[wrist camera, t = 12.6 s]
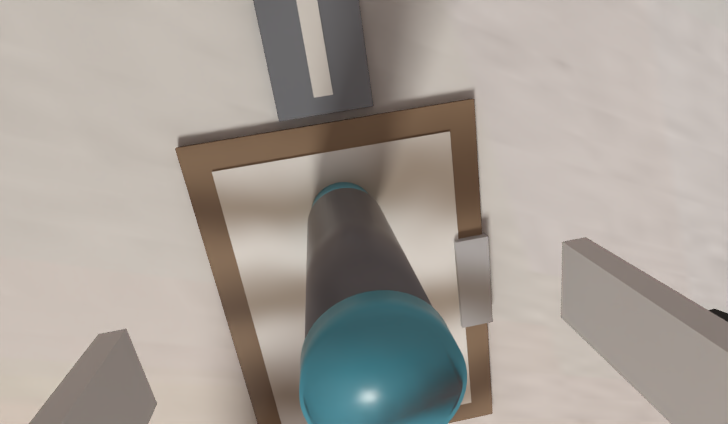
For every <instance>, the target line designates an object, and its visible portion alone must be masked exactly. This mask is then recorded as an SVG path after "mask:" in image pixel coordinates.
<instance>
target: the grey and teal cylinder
mask: <svg viewBox="0 0 728 424" xmlns="http://www.w3.org/2000/svg"><path fill="white" fill-rule="evenodd" d="M466 385H467V368H466V363H465V360H464V357H463V354H462V352H461V351H460V349H459V347H458V345H457V343H456V341H455V339H454V338H453V336H452V334H451V332H450V330H449V328H448V327H447V325H446V323H445V321H444V319H443V318H442V317H441V315H440V314H439V313H438V312H437V311H436V310H435V309H434V308H433V306H432V304H431V302H430V301H429V299H428V297H427V295H426V293H425V291H424V289H423V287H422V285H421V284H420V282H419V280H418V278H417V276H416V274H415V272H414V270H413V268H412V267H411V265H410V263H409V261H408V259H407V257H406V255H405V253H404V251H403V250H402V248H401V246H400V244H399V242H398V240H397V238H396V236H395V234H394V232H393V231H392V229H391V227H390V225H389V223H388V221H387V219H386V217H385V215H384V214H383V212H382V210H381V208H380V206H379V204H378V203H377V202H376V200H375V199H374V198H373V197H371V196H370V195H369V194H368V193H367V192H366V190H364V189H363V188H362V187H360V186H358V185H356V184H353V183H349V182H338V183H334V184H331V185H329V186H327V187H325V188H324V189H323V190H322V191H321V192H319V194H318V195H317V196H316V198H315V200H314V202H313V205H312V209H311V211H310V213H309V216H308V222H307V263H306V305H305V340H304V343H303V346H302V351H301V357H300V384H299V400H300V406H301V410H302V412H303V415H304V417H305V419H306V421H307V423H308V424H448V423H449V421H450V420H451V419H452V418H453V416H454V415H455V413H456V412H457V410H458V409H459V407H460V405H461V402H462V400H463V398H464V394H465V391H466Z"/></svg>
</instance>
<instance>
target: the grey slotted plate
mask: <svg viewBox="0 0 728 424" xmlns="http://www.w3.org/2000/svg"><path fill="white" fill-rule="evenodd" d="M253 1H254V6H255V10H256V15H257V20H258V25H259V29H260V34H261V39H262V43H263V48H264V53H265V57H266V62H267V67H268V72H269V76H270V81H271V86H272V90H273V95H274V100H275V104H276V109H277V114H278V118H279V121H285V120H291V119H297V118H303V117H309V116H316V115H322V114H328V113H334V112H340V111H346V110H352V109H358V108H364V107H370V106H373V101H372V94H371V86H370V79H369V72H368V64H367V57H366V50H365V43H364V35H363V28H362V21H361V14H360V6H359V0H253Z"/></svg>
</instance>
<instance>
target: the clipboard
mask: <svg viewBox="0 0 728 424" xmlns="http://www.w3.org/2000/svg"><path fill="white" fill-rule="evenodd" d="M175 150H176V153H177V156H178V160H179V163H180V166H181V170H182V173H183V176H184V180H185V183H186V186H187V190H188V193H189V196H190V199H191V203H192V206H193V209H194V213H195V216H196V219H197V223H198V226H199V229H200V233H201V236H202V239H203V243H204V246H205V249H206V253H207V256H208V259H209V263H210V266H211V269H212V273H213V276H214V279H215V283H216V286H217V289H218V292H219V296H220V299H221V302H222V306H223V309H224V312H225V316H226V319H227V322H228V326H229V329H230V332H231V336H232V339H233V342H234V346H235V349H236V352H237V356H238V359H239V362H240V366H241V369H242V372H243V376H244V379H245V382H246V386H247V389H248V392H249V395H250V399H251V402H252V405H253V409H254V412H255V415H256V419H257V422H258V424H308V423H307V421H306V419H305V417H304V415H303V412H302V410H301V406H300V400H299V384H300V357H301V351H302V346H303V343H304V340H305V305H306V263H307V222H308V216H309V213H310V211H311V209H312V205H313V202H314V200H315V198H316V196H317V195H318V194H319V192H321V191H322V190H323V189H324V188H325V187H327V186H329V185H331V184H334V183H338V182H349V183H353V184H356V185H358V186H360V187H362V188H363V189H364V190H366V192H367V193H368V194H369V195H370V196H371V197H373V198H374V199H375V200H376V202H377V203H378V204H379V206H380V208H381V210H382V212H383V214H384V215H385V217H386V219H387V221H388V223H389V225H390V227H391V229H392V231H393V232H394V234H395V236H396V238H397V240H398V242H399V244H400V246H401V248H402V250H403V251H404V253H405V255H406V257H407V259H408V261H409V263H410V265H411V267H412V268H413V270H414V272H415V274H416V276H417V278H418V280H419V282H420V284H421V285H422V287H423V289H424V291H425V293H426V295H427V297H428V299H429V301H430V302H431V304H432V306H433V308H434V309H435V310H436V311H437V312H438V313H439V314H440V315H441V317H442V318H443V319H444V321H445V323H446V325H447V327H448V328H449V330H450V332H451V334H452V336H453V338H454V339H455V341H456V343H457V345H458V347H459V349H460V351H461V352H462V354H463V357H464V360H465V363H466V368H467V385H466V391H465V394H464V398H463V400H462V402H461V405H460V407H459V409H458V410H457V412H456V413H455V415H454V416H453V418H452V419H451V420H450V421H449V423H451V422H456V421H461V420H465V419H470V418H474V417H479V416H484V415H488V414H492V397H491V380H490V363H489V346H488V329H487V323H490V322H493V318H492V300H491V281H490V262H489V243H488V236H487V235H486V234H485V233H482V227H481V210H480V193H479V176H478V158H477V141H476V124H475V107H474V99H467V100H461V101H455V102H449V103H443V104H436V105H430V106H424V107H418V108H412V109H406V110H400V111H394V112H388V113H382V114H376V115H370V116H364V117H358V118H352V119H346V120H340V121H334V122H328V123H322V124H316V125H309V126H303V127H297V128H291V129H285V130H279V131H273V132H267V133H261V134H255V135H249V136H243V137H237V138H231V139H225V140H219V141H213V142H207V143H201V144H195V145H189V146H182V147H177V148H175Z"/></svg>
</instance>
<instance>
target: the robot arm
mask: <svg viewBox="0 0 728 424" xmlns="http://www.w3.org/2000/svg"><path fill="white" fill-rule="evenodd" d="M561 318H562V319H563V320H564V321H565V322H566V323H567V324H568V325H569V326H571V327H572V328H573V329H574V330H575V331H576V332H577V333H578V334H579V335H580V336H581V337H582V338H583V339H584V340H585V341H586V342H587V343H588V344H589V345H590V346H591V347H592V348H593V349H594V350H595V351H596V352H597V353H598V354H600V355H601V356H602V357H603V358H604V359H605V360H606V361H607V362H608V363H609V364H610V365H611V366H612V367H613V368H614V369H615V370H616V371H617V372H618V373H619V374H620V375H621V376H622V377H623V378H624V379H625V380H626V381H627V382H629V383H630V384H631V385H632V386H633V387H634V388H635V389H636V390H637V391H638V392H639V393H640V394H641V395H642V396H643V397H644V398H645V399H646V400H647V401H648V402H649V403H650V404H651V405H652V406H653V407H654V408H655V409H656V410H658V411H659V412H660V413H661V414H662V415H663V416H664V417H665V418H666V419H667V420H668V421H669V422H670V423H671V424H728V313H725V312H722V311H719V310H717V309H712V310H707V309H705V308H703V307H702V306H700V305H698V304H697V303H695V302H693V301H692V300H690V299H688V298H687V297H685V296H683V295H682V294H680V293H678V292H677V291H675V290H673V289H672V288H670V287H668V286H667V285H665V284H663V283H661V282H660V281H658V280H656V279H655V278H653V277H651V276H650V275H648V274H646V273H645V272H643V271H641V270H640V269H638V268H636V267H635V266H633V265H631V264H630V263H628V262H626V261H625V260H623V259H621V258H620V257H618V256H616V255H615V254H613V253H611V252H609V251H608V250H606V249H604V248H603V247H601V246H599V245H598V244H596V243H594V242H593V241H591V240H589V239H588V238H586V237H585V238H580V239H575V240H570V241H565V242H562V286H561ZM156 405H157V402H156V400H155V398H154V395H153V393H152V390H151V388H150V385H149V383H148V381H147V378H146V376H145V373H144V371H143V368H142V366H141V363H140V361H139V359H138V356H137V354H136V351H135V349H134V346H133V344H132V341H131V339H130V337H129V334H128V332H127V329H123V330H118V331H112V332H107V333H102V334H98V336H97V337H96V338H95V339H94V341H93V342H92V343H91V345H90V346H89V347H88V348H87V350H86V351H85V352H84V354H83V355H82V356H81V357H80V359H79V360H78V361H77V363H76V364H75V365H74V366H73V368H72V369H71V370H70V372H69V373H68V374H67V375H66V377H65V378H64V379H63V381H62V382H61V383H60V384H59V386H58V387H57V388H56V390H55V391H54V392H53V393H52V395H51V396H50V397H49V399H48V400H47V401H46V402H45V404H44V405H43V406H42V408H41V409H40V410H39V411H38V413H37V414H36V415H35V417H34V418H33V419H32V420H31V422H30V423H29V424H148V423H149V421H150V418H151V416H152V414H153V412H154V409H155V407H156Z"/></svg>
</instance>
